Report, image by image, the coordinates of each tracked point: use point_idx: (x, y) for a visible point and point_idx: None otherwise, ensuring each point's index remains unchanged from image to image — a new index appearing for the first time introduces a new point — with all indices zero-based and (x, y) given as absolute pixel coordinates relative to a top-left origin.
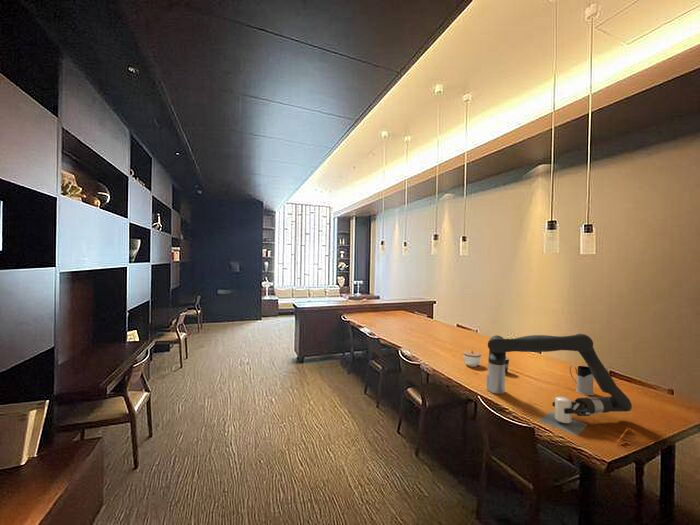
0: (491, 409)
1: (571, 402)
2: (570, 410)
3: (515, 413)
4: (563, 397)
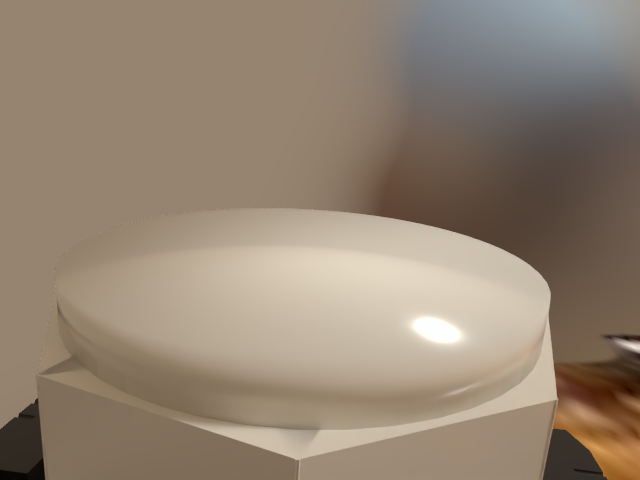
0: (631, 349)
1: (38, 380)
2: (24, 420)
3: (605, 431)
4: (468, 320)
